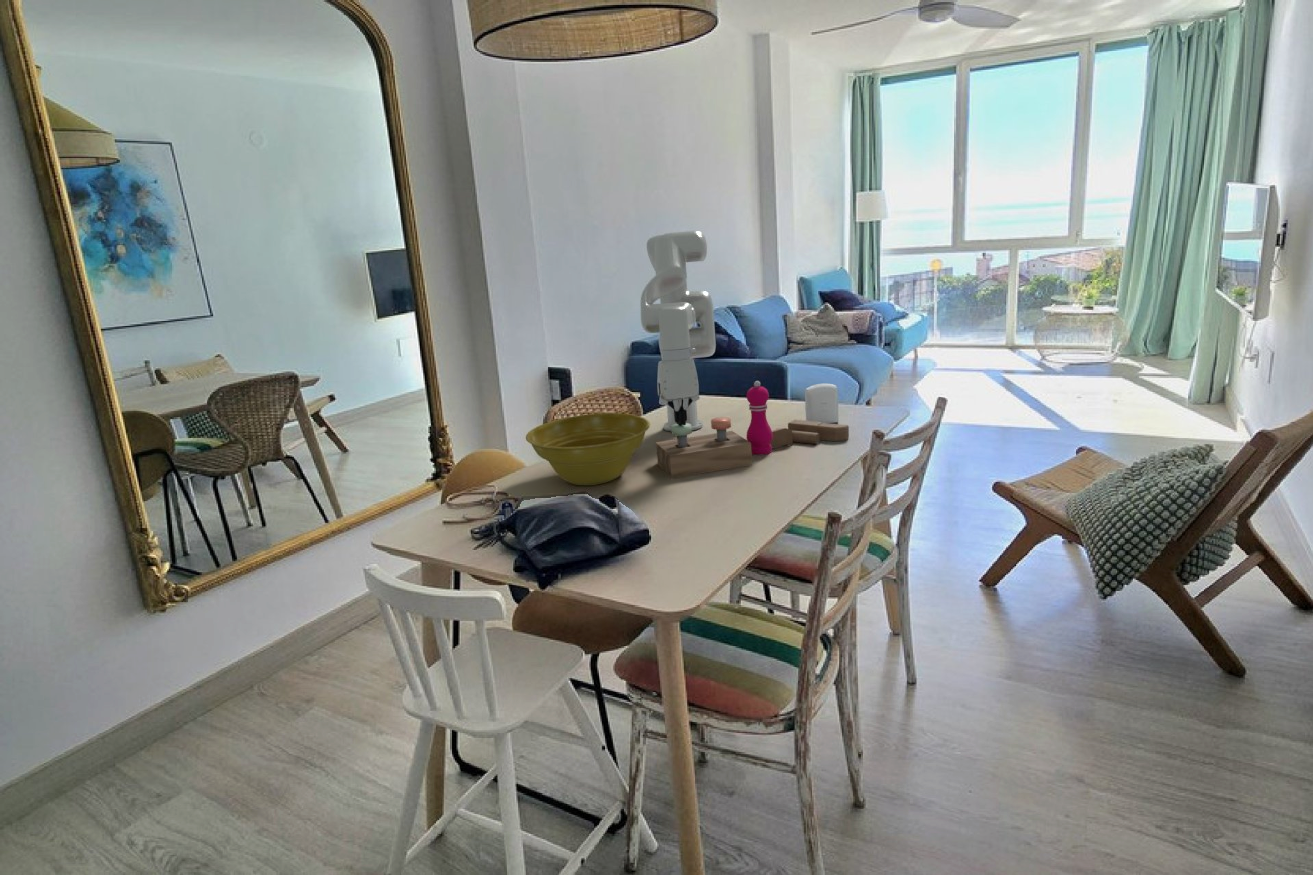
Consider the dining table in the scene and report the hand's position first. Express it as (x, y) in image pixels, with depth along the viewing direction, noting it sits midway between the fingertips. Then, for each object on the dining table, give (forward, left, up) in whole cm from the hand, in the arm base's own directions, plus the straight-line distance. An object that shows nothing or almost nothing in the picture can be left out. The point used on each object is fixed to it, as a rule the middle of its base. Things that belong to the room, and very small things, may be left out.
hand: (681, 424), depth 197 cm
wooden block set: (-4, +38, -13) cm, 40 cm away
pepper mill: (-3, +23, -12) cm, 26 cm away
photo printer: (-21, +51, -12) cm, 57 cm away
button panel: (0, +6, -12) cm, 13 cm away
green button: (0, 0, -8) cm, 8 cm away
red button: (0, +11, -8) cm, 14 cm away
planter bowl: (-4, -24, -12) cm, 27 cm away
